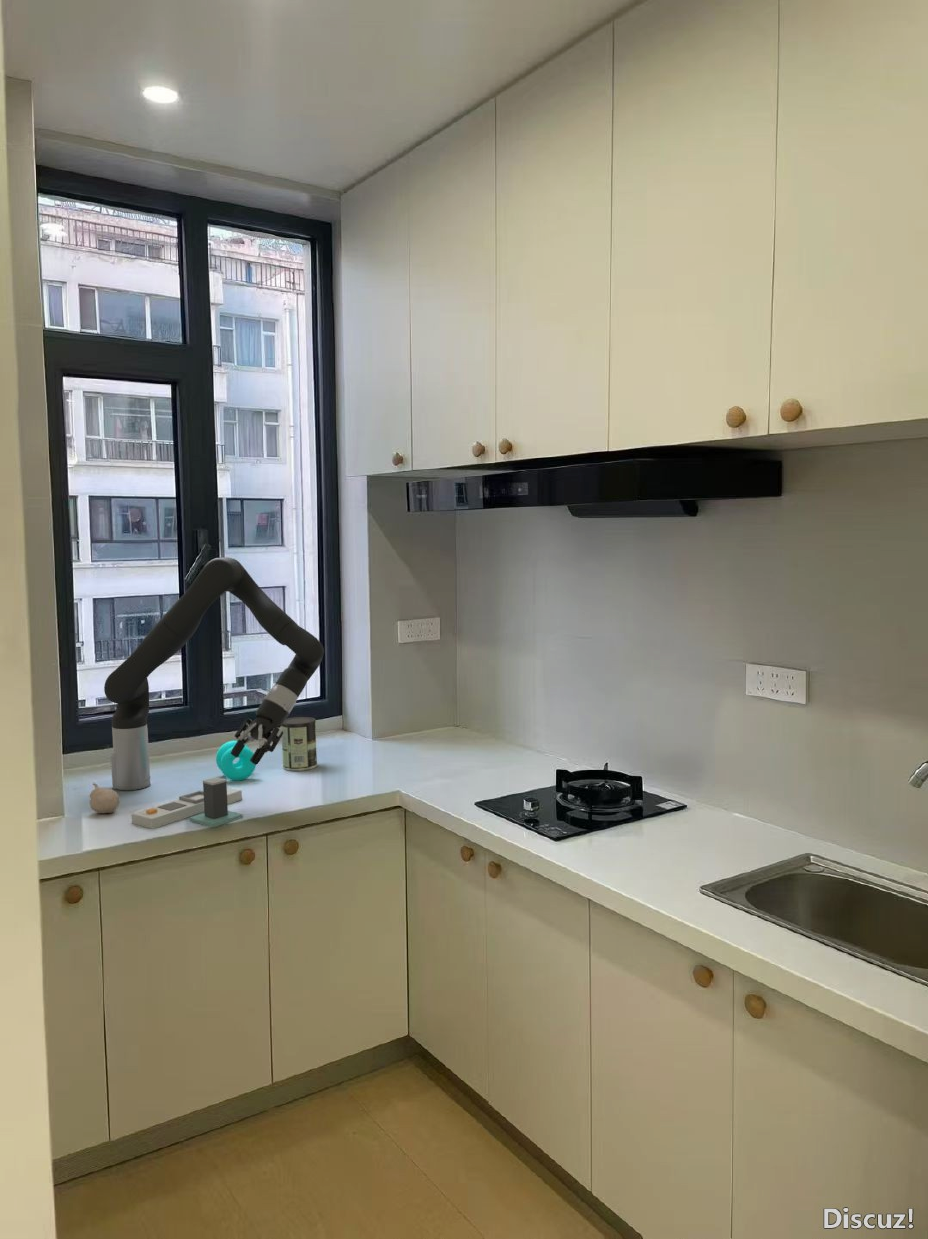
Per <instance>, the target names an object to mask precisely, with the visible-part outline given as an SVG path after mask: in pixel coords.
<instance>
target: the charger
mask: <svg viewBox="0 0 928 1239" xmlns="http://www.w3.org/2000/svg"><path fill="white" fill-rule="evenodd" d="M227 781H228V780H227V779H225V778H222V777H218V776H215V777H211V778H208V779H204V780H202V785H203V787H202V788H203V790H202V791H203V792H204V812H203V813H205V817H209V818H212V819H217V818H221V817H224V816H227V815H228V811H229V809H228V805H229V804H227V787H228V786H227V784H228V783H227Z"/></svg>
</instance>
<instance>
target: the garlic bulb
mask: <svg viewBox="0 0 928 1239" xmlns="http://www.w3.org/2000/svg"><path fill="white" fill-rule="evenodd" d="M92 785H93V786H94V789H93V790H92V791H91V792H90V794H89V798H90V800H89V801H90V802H89V806H90V809H92V811H93V812H96V813H97V814H111V813H113V812H115V811H116V810H117V809H118V807H119V805H120V801H121V800H120V795H119V794H118V793H117V791H115V790H114V789H111V788H109V787H100V786H98V784H96V783H95V782H92Z"/></svg>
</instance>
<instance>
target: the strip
mask: <svg viewBox="0 0 928 1239" xmlns="http://www.w3.org/2000/svg"><path fill="white" fill-rule="evenodd" d="M242 793H243V791H242V790H241V789H237V788H232V787H228V786H227V804H228V805H229V804H232V803H235V802H238V801H241V800H243V794H242ZM202 813H205V812H204V792H203V790H197V791H194V792H190V793H187V794H184V795H180V796H178V798H176V799H173V800H170V801H168V802H164V803H162V804H157V805H155V806H151V807H148V808H144V809H141V810H139V811H135V812H132V813H130V814H131V815H130V816H131V818H130V819H131V824H134V825H137V826H141V827H145V828H148V829H155V828H159V827H161V826H165V825H167V824H171V823H173V822H177V821H180V820H183V819H186V818H190V817H193V816H196V815H199V814H202Z"/></svg>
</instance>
